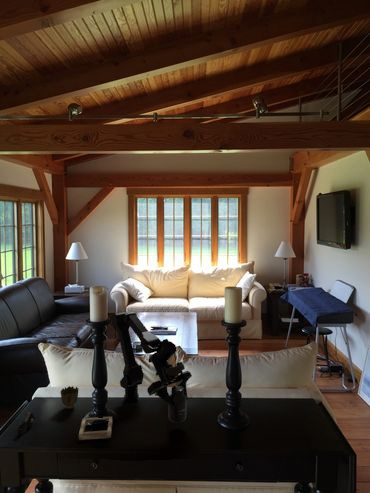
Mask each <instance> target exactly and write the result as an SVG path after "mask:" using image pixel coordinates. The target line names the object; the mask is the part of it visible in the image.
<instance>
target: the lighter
mask: <svg viewBox="0 0 370 493" xmlns="http://www.w3.org/2000/svg"><path fill="white" fill-rule="evenodd" d="M35 419H36V417H35V416H34V414H33V412H32V411H27V412H26V413H25V415H24V419H23V421H22V423H21V424H20V425H19V426H18V428H17V429H16V430H17V435H18V436H23V435H24V434H25V433H26V432H27V431H28V429H31V428H32V425H33V423H34V422H35Z"/></svg>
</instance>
